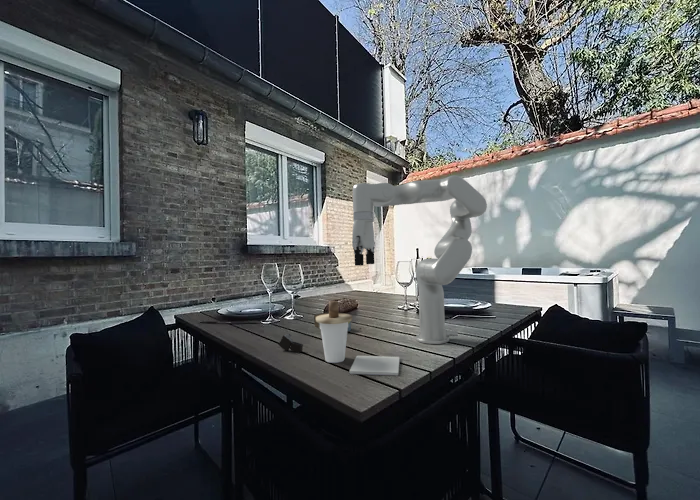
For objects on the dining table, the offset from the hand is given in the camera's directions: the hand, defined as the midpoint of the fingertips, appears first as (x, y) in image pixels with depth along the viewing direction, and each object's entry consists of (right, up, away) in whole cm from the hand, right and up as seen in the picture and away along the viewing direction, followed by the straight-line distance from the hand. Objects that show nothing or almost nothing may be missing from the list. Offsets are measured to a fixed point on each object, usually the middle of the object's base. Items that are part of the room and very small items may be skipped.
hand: (364, 264), depth 122 cm
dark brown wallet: (-27, -31, -1) cm, 41 cm away
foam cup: (-10, -31, -12) cm, 35 cm away
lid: (-11, -18, -12) cm, 24 cm away
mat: (+2, -30, -20) cm, 36 cm away
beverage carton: (-14, -31, +32) cm, 46 cm away
